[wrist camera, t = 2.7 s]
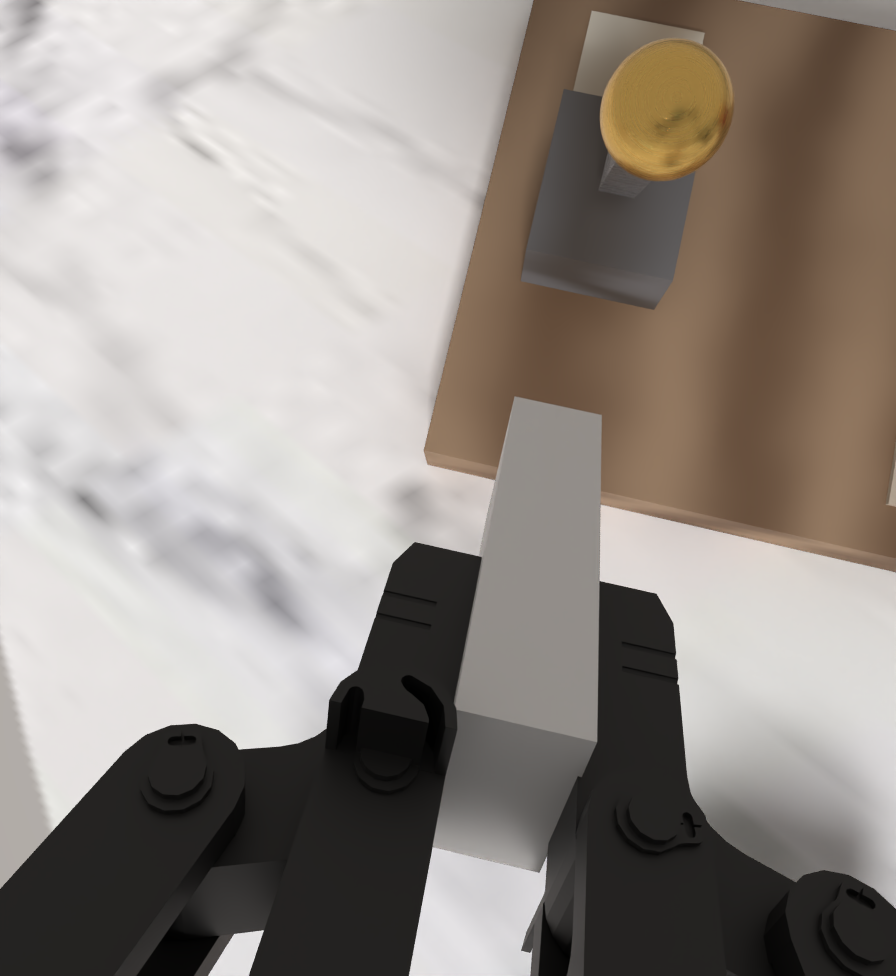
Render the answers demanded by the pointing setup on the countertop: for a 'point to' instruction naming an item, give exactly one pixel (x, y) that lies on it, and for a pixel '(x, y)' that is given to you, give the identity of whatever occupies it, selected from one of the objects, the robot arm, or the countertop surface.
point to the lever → (663, 114)
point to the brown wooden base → (698, 280)
